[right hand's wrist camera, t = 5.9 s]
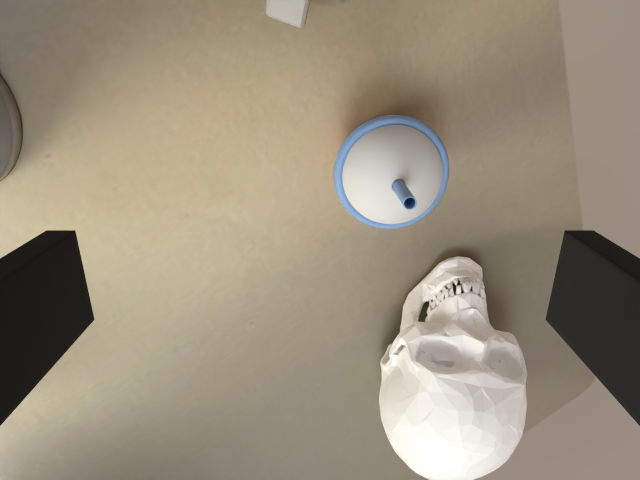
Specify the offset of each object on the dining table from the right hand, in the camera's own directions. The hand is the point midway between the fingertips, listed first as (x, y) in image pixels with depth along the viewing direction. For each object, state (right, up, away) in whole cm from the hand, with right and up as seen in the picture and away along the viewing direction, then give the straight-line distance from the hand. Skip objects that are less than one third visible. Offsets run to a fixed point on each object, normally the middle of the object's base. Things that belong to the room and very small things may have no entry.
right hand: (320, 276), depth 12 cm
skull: (+14, -10, +40) cm, 44 cm away
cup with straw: (+6, +10, +33) cm, 34 cm away
